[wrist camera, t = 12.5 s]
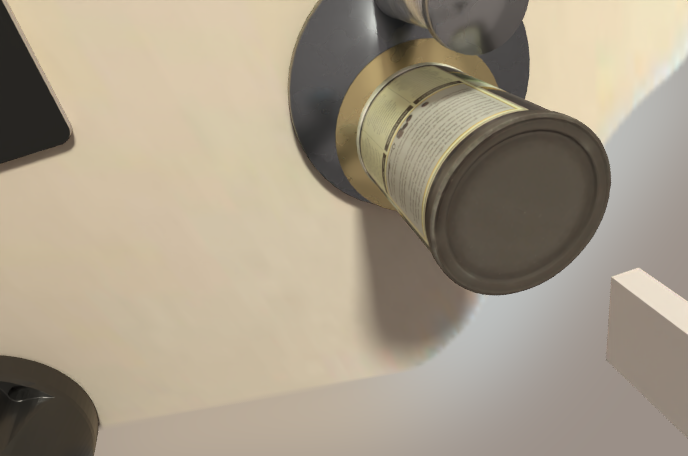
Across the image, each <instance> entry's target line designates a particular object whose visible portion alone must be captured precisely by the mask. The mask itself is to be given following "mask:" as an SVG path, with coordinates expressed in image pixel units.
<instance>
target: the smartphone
mask: <svg viewBox="0 0 688 456" xmlns="http://www.w3.org/2000/svg"><path fill="white" fill-rule="evenodd" d="M71 133H72V126H71V124H70V122H69V120H68V118H67V116H66V114H65V112H64V110H63V108H62V106H61V104H60V102H59V100H58V98H57V96H56V95H55V93H54V91H53V89H52V87H51V85H50V83H49V81H48V79H47V77H46V75H45V73H44V71H43V70H42V68H41V66H40V64H39V62H38V60H37V58H36V56H35V54H34V52H33V50H32V48H31V46H30V44H29V43H28V41H27V39H26V37H25V35H24V33H23V31H22V29H21V27H20V25H19V23H18V21H17V19H16V17H15V16H14V14H13V12H12V10H11V8H10V6H9V4H8V2H7V0H0V164H1V163H4V162H7V161H10V160H13V159H17V158H20V157H23V156H26V155H29V154H32V153H36V152H39V151H42V150H45V149H48V148H52V147H55V146H58V145H61V144H63V143H65V142H66V141H67V140H68V139H69V137H70V135H71Z"/></svg>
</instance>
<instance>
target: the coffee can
mask: <svg viewBox="0 0 688 456" xmlns="http://www.w3.org/2000/svg"><path fill="white" fill-rule="evenodd" d="M356 145H357V153H358V157H359V160H360V163H361V165H362V167H363V169H364V171H365V173H366V174H367V176H368V177H369V178H370V180H371V181H372V182H373V183H374V184H375V185H377V186H378V187H379V189H380V190H381V191H382V192H383V194H384V195H385V196H386V197H387V199H388V200H389V201H390V202H391V204H392V205H393V206H394V207H395V209H396V210H397V211H398V212H399V214H400V215H401V216H402V217H403V219H404V220H405V221H406V222H407V223H408V225H409V226H410V227H411V228H412V230H413V231H414V232H415V233H416V234H417V236H418V237H419V238H420V239H421V240H422V242H423V243H424V244H425V245H426V247H427V248H428V249H429V250H430V251H431V253H432V255H433V257H434V259H435V260H436V262H437V264H438V265H439V266H440V268H441V269H442V270H443V272H444V273H445V274H446V275H447V276H448V277H449V278H450V279H451V280H452V281H454V282H455V283H456V284H458V285H459V286H462V287H463V288H465V289H467V290H470V291H472V292H475V293H480V294H485V295H506V294H512V293H516V292H520V291H524V290H527V289H530V288H532V287H535V286H537V285H540V284H542V283H543V282H545V281H547V280H549V279H550V278H552V277H554V276H555V275H556V274H558V273H559V272H560V271H562V270H563V269H564V268H565V267H567V266H568V265H569V264H570V263H571V262H572V261H573V260H574V259H575V258H576V257H577V256H578V255H579V254H580V253H581V251H582V250H583V249H584V248H585V247H586V245H587V244H588V243H589V242H590V240H591V239H592V237H593V236H594V234H595V232H596V230H597V229H598V226H599V225H600V222H601V220H602V218H603V215H604V213H605V210H606V207H607V203H608V199H609V192H610V186H611V173H610V164H609V160H608V157H607V154H606V151H605V149H604V147H603V145H602V143H601V141H600V139H599V138H598V137H597V136H596V134H595V133H594V132H593V131H592V130H591V129H590V128H589V127H587V126H586V125H585V124H583V123H582V122H580V121H578V120H577V119H574V118H572V117H570V116H568V115H565V114H562V113H558V112H555V111H550V110H547V109H545V108H543V107H541V106H538V105H536V104H534V103H532V102H529V101H527V100H525V99H522V98H520V97H518V96H516V95H513V94H511V93H508V92H506V91H504V90H502V89H499V88H497V87H495V86H493V85H490V84H488V83H486V82H484V81H481V80H479V79H477V78H475V77H473V76H471V75H468V74H466V73H464V72H462V71H461V70H459V69H457V68H455V67H452V66H450V65H447V64H442V63H435V62H425V63H418V64H414V65H411V66H408V67H405V68H403V69H401V70H399V71H397V72H395V73H394V74H392V75H391V76H389V77H388V78H387V79H385V80H384V81H383V82H382V83H381V84H380V85H379V86H378V87H377V88H376V89H375V90H374V92H373V93H372V94H371V96H370V98H369V99H368V100H367V102H366V104H365V106H364V108H363V110H362V112H361V115H360V118H359V122H358V127H357V136H356Z"/></svg>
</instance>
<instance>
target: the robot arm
mask: <svg viewBox="0 0 688 456" xmlns="http://www.w3.org/2000/svg"><path fill="white" fill-rule="evenodd" d="M606 360H607V361H608V362H609V363H610V364H611V365H612V366H613V367H614V368H615V369H616V370H617V371H618V372H619V373H620V374H621V375H622V376H623V377H624V378H625V379H626V380H627V381H629V383H631V384H632V386H634V387H635V388H636V389H637V390H638V391H639V392H640V393H641V394H642V395H643V396H644V397H645V398H646V399H647V400H648V401H649V402H650V403H651V404H652V405H653V406H654V407H655V408H656V409H658V411H660V412H661V413H662V414H663V415H664V416H665V417H666V418H667V419H668V420H669V421H670V422H671V423H672V424H673V425H674V426H675V427H676V428H677V429H678V430H679V431H680V432H682V434H683V435H684V436H686V437H687V438H688V301H686V300H685V299H683V298H682V297H680V296H679V295H677V294H676V293H675V292H673V291H672V290H670V289H669V288H667V287H666V286H664V285H663V284H662V283H660V282H659V281H657V280H656V279H654V278H653V277H651V276H650V275H649V274H647V273H646V272H644V271H642V270H641V269H640V268H637V269H633V270H630V271H627V272H624V273H621V274H618V275H615V276H612V277H611V289H610V306H609V321H608V337H607V352H606ZM97 435H98V418H97V413H96V410H95V408H94V405H93V403H92V401H91V400H90V398H89V397H88V395H87V394H86V393H85V391H84V390H83V389H82V388H81V387H80V386H79V385H78V384H77V383H75V382H74V381H73V380H72V379H70V378H69V377H67V376H66V375H64V374H63V373H61V372H59V371H57V370H55V369H53V368H51V367H49V366H46V365H44V364H41V363H38V362H35V361H31V360H27V359H23V358H17V357H11V356H0V456H94V452H95V446H96V441H97Z"/></svg>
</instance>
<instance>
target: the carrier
mask: <svg viewBox="0 0 688 456" xmlns="http://www.w3.org/2000/svg"><path fill="white" fill-rule="evenodd" d="M528 2H529V0H319V1H318V2H317V3H316V5H315V6H314V8H313V10H312V11H311V13H310V14H309V16H308V17H307V19H306V21H305V23H304V25H303V27H302V29H301V31H300V33H299V35H298V38H297V41H296V44H295V47H294V50H293V53H292V58H291V63H290V68H289V78H288V101H289V109H290V114H291V120H292V123H293V126H294V129H295V132H296V135H297V137H298V139H299V142H300V144H301V146H302V148H303V150H304V151H305V153H306V155H307V156H308V158H309V159H310V161H311V162H312V164H313V165H314V167H315V168H316V169H317V170H318V171H319V172H320V173H321V174H322V176H323V177H324V178H325V179H327V180H328V181H329V182H330V183H331V184H333V185H334V186H335V187H336V188H338V189H340V190H341V191H343V192H344V193H346V194H348V195H350V196H352V197H354V198H357V199H359V200H362V201H365V202H369V203H372V204H376V205H378V206H381V207H383V208H387V209H390V210H396V209H395V207H394V206H393V205H392V204H391V202H390V201H389V200H388V199H387V197H386V196H385V195H384V194H383V192H382V191H381V190H380V189H379V187H378V186H377V185H375V184H374V183H373V182H372V181H371V180H370V178H369V177H368V176H367V174H366V173H365V171H364V169H363V167H362V165H361V163H360V160H359V157H358V153H357V145H356V136H357V127H358V122H359V118H360V115H361V112H362V110H363V108H364V106H365V104H366V102H367V100H368V99H369V98H370V96H371V94H372V93H373V92H374V90H375V89H376V88H377V87H378V86H379V85H380V84H381V83H382V82H383V81H384V80H385V79H387V78H388V77H389V76H391V75H392V74H394V73H395V72H397V71H399V70H401V69H403V68H405V67H408V66H411V65H414V64H418V63H425V62H435V63H442V64H447V65H450V66H452V67H455V68H457V69H459V70H461V71H462V72H464V73H466V74H468V75H471V76H473V77H475V78H477V79H479V80H481V81H484V82H486V83H488V84H490V85H493V86H495V87H497V88H499V89H502V90H504V91H506V92H508V93H511V94H513V95H516V96H518V97H520V98H522V99H525V96H526V92H527V86H528V79H529V61H530V58H529V47H528V40H527V36H526V31H525V27H524V24H523V21H522V20H523V17H524V15H525V12H526V10H527V6H528ZM396 211H397V210H396Z"/></svg>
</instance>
